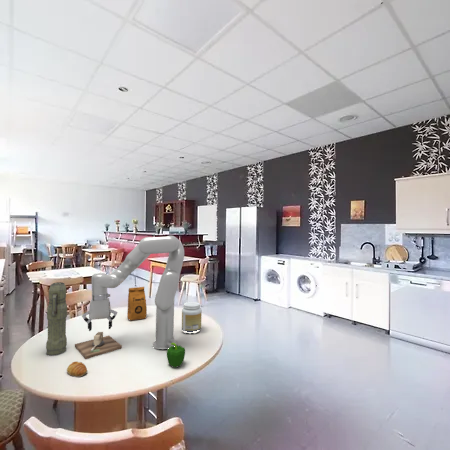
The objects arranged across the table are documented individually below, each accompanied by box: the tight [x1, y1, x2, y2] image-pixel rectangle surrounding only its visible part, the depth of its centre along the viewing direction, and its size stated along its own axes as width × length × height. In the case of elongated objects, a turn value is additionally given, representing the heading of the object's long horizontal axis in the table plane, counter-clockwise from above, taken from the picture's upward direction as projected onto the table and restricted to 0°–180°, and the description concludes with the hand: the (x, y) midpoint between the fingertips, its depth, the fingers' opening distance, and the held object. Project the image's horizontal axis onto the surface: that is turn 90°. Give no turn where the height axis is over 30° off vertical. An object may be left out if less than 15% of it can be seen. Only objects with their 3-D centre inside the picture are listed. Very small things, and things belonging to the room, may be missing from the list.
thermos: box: [45, 282, 68, 357], centre depth 142 cm, size 9×12×35 cm
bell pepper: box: [166, 343, 186, 368], centre depth 132 cm, size 8×8×10 cm
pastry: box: [66, 361, 88, 378], centre depth 123 cm, size 9×7×4 cm
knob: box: [91, 331, 104, 351], centre depth 145 cm, size 12×6×6 cm, turn 3°
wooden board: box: [74, 335, 123, 360], centre depth 148 cm, size 18×18×2 cm
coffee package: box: [126, 286, 148, 321], centre depth 194 cm, size 10×12×22 cm
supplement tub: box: [181, 301, 202, 332], centre depth 174 cm, size 12×12×17 cm
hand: (100, 329), depth 148 cm, fingers open, 9 cm apart
